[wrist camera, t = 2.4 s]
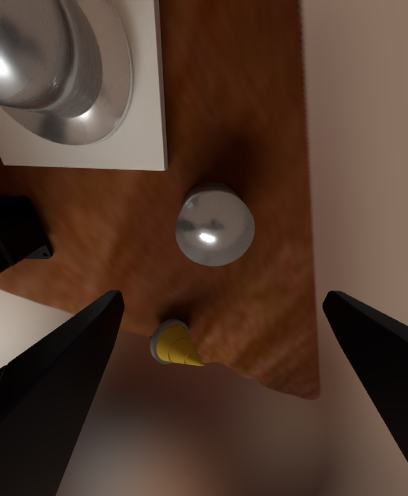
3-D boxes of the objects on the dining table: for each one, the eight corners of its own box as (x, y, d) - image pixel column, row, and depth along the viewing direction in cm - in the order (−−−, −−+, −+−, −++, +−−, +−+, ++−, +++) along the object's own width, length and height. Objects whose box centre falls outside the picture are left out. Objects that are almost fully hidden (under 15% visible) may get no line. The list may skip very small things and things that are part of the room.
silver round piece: (15, 116, 11) (-97, 96, 7) (-45, -40, 9) (-295, -235, 4) (112, 120, 12) (61, 104, 7) (86, -29, 9) (-22, -202, 4)
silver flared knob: (181, 239, 19) (177, 265, 15) (179, 180, 17) (173, 191, 12) (236, 240, 20) (248, 266, 15) (244, 182, 17) (261, 194, 12)
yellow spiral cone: (146, 313, 25) (188, 341, 18) (177, 313, 29) (224, 336, 21) (137, 353, 24) (177, 401, 17) (170, 348, 28) (216, 386, 20)
